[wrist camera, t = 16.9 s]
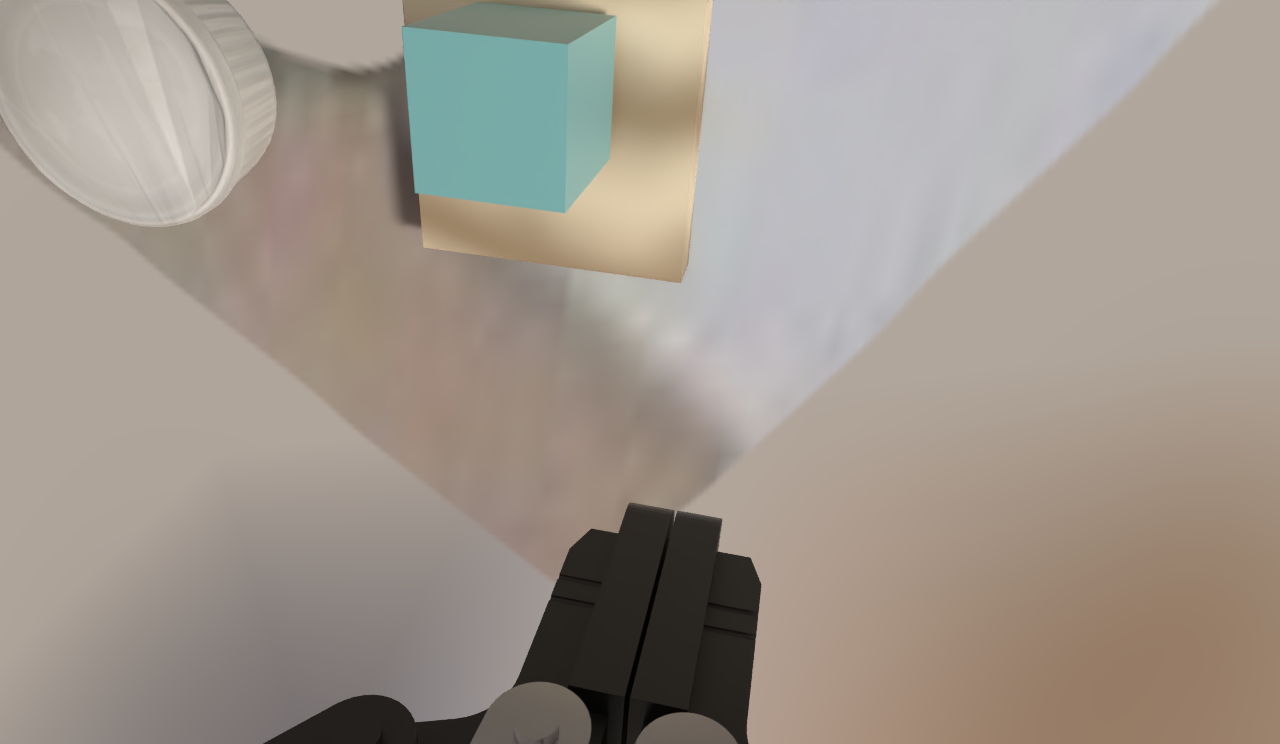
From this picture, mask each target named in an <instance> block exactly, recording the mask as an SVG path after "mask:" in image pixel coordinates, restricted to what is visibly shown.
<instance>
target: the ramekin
mask: <svg viewBox="0 0 1280 744" xmlns="http://www.w3.org/2000/svg"><path fill="white" fill-rule="evenodd" d="M276 106H277V102H276V96H275V86H274V83H273V77H272V73H271V71H270V68H269V65H268V61H267V58H266V56H265V54H264V52H263V50H262V47H261V45H260V44H259V42H258V41H257V39H256V38H255V36H254V34H253V32H252V30H251V29H250V28H249V26H248V25H247V24H246V22H245V20H244V19H243V18H242V16H241V15H239V13H238V12H237V11H236V10H235V9H234V8H233V6H232V5H231V4H230V3H229V2H227V1H226V0H0V115H1V117H2V119H3V121H4V122H5V124H6V126H7V127H8V129H9V131H10V132H11V134H12V135H13V137H14V138H15V140H16V141H17V143H18V144H19V146H20V148H21V149H22V150H23V152H24V153H25V154H26V155H27V157H28V158H29V159H30V160H31V161H32V162H33V163H34V164H35V166H36V167H37V168H38V170H39V171H40V172H41V173H42V174H43V175H44V176H46V177H47V178H48V179H49V180H50V181H51V182H53V183H54V184H55V185H56V186H57V187H59V188H60V189H62V190H63V191H64V192H66V193H67V194H68V195H70V196H71V197H73V198H74V199H76V200H77V201H79V202H80V203H82V204H83V205H85V206H87V207H89V208H90V209H92V210H94V211H96V212H98V213H100V214H103V215H105V216H107V217H110V218H113V219H116V220H119V221H122V222H125V223H128V224H133V225H138V226H147V227H166V226H173V225H178V224H183V223H187V222H190V221H193V220H195V219H197V218H199V217H201V216H202V215H204V214H206V213H207V212H209V211H211V210H212V209H214V208H215V207H216V206H217V205H219V204H220V203H221V202H222V201H223V200H224V199H225V198H226V197H227V196H228V194H229V193H230V191H231V190H232V188H233V187H234V185H235V184H236V183H237V182H238V181H239V180H240V179H241V178H243V177H244V176H245V175H246V174H247V173H248V172H249V171H250V170H251V169H252V168H253V167H254V166H255V165H256V164H257V163H258V162H259V160H260V158H261V157H262V156H263V154H264V153H265V151H266V148H267V146H268V145H269V143H270V141H271V137H272V134H273V132H274V129H275V120H276Z"/></svg>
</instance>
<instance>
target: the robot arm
mask: <svg viewBox="0 0 1280 744" xmlns="http://www.w3.org/2000/svg"><path fill="white" fill-rule="evenodd" d="M721 526H722V519H721V518H716V517H710V516H704V515H699V514H693V513H688V512H682V511H677V514H676V517H675V521H674V510H670V509H664V508H658V507H653V506H647V505H642V504H636V503H629V504H628V507H627V509H626V512H625V515H624V518H623V521H622V524H621V527H620V530H619V533H612V532H607V531H602V530H596V529H591V530H589V531H588V532H587V533H586V534H585V535H584V536H583V537H582V538H581V539H580V540H579V541H577V542H576V543H575V544H574V545H573V546H572V547H571V548H570V549H569V552H568V554H567V557H566V559H565V562H564V564H563V567H562V569H561V572H560V576H559V579H557V582H556V584H555V587H554V590H553V592H552V595H551V599H550V600H549V602H548V605H547V607H546V609H545V612H544V614H543V617H542V620H541V622H540V625H539V627H538V630H537V632H536V635H535V637H534V639H533V642H532V645H531V647H530V650H529V652H528V655H527V657H526V660H525V662H524V665H523V667H522V670H521V672H520V675H519V677H518V679H517V681H516V683H515V685H514V686H513V687H512V688H511V689H510V690H508V691H506V692H504V693H503V694H502V695H501V696H500V697H498V698H497V699H496V700H495V701H494V702H493V704H492V705H491V706H490V707H489V708H488V709H487V710H485V711H482V712H480V713H478V714H475V715H472V716H468V717H464V718H457V719H448V720H437V721H426V722H415V721H414V718H413V717H412V715H411V713H410V712H409V711H408V709H407V708H406V707H405V706H404V705H402V704H401V703H400V702H398V701H396V700H394V699H392V698H389V697H384V696H380V695H363V696H357V697H353V698H350V699H347V700H344V701H342V702H339V703H337V704H335V705H333V706H332V707H330V708H328V709H326V710H324V711H322V712H321V713H319V714H317V715H315V716H313V717H311V718H309V719H308V720H306V721H304V722H302V723H300V724H298V725H297V726H295V727H293V728H291V729H289V730H287V731H286V732H284V733H282V734H280V735H278V736H276V737H275V738H273V739H271V740H269V741H267V742H265V743H264V744H748V739H747V717H748V707H749V698H750V689H751V679H752V669H753V660H754V650H755V639H756V630H757V621H758V612H759V603H760V592H761V582H760V581H759V577H758V575H757V572H756V570H755V568H754V565H753V563H752V560H751V558H749V557H744V556H738V555H733V554H728V553H722V552H718V547H719V539H720V532H721Z"/></svg>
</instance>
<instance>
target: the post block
mask: <svg viewBox="0 0 1280 744" xmlns="http://www.w3.org/2000/svg"><path fill="white" fill-rule="evenodd" d="M476 2H487V3H497V4H507V5H517V6H526V7H536V8H546V9H556V10H566V11H576V12H586V13H596V14H606V15H616V16H617V17H616V38H615V60H614V81H613V103H612V124H611V146H610V159H609V161H608V162H607V163H606V164H605V165H604V167H603V168H602V169H601V170H600V171H599V173H598V174H597V175H596V176H595V178H594V179H593V180H592V181H591V182H590V184H589V185H588V186H587V187H586V188H585V190H584V191H583V192H582V193H581V195H580V196H579V197H578V198H577V199H576V201H575V202H574V203H573V204H572V206H571V207H570V208H569V209H568V210H567V212H566V213H559V212H551V211H544V210H537V209H529V208H522V207H515V206H507V205H500V204H493V203H485V202H478V201H471V200H463V199H456V198H448V197H441V196H434V195H426V194H419V203H420V215H421V227H422V239H423V247H425V248H432V249H440V250H447V251H454V252H461V253H468V254H476V255H483V256H490V257H497V258H504V259H512V260H519V261H526V262H533V263H540V264H548V265H555V266H562V267H569V268H577V269H584V270H591V271H598V272H605V273H613V274H620V275H627V276H634V277H641V278H649V279H656V280H663V281H670V282H678V283H681V281H682V279H683V276H684V274H685V271H686V268H687V266H688V257H689V246H690V236H691V225H692V215H693V205H694V194H695V184H696V173H697V163H698V152H699V142H700V131H701V121H702V110H703V100H704V89H705V79H706V68H707V58H708V47H709V37H710V26H711V16H712V5H713V0H403V11H404V23H405V25H408V24H411V23H414V22H418V21H421V20H424V19H427V18H430V17H433V16H436V15H439V14H442V13H445V12H448V11H451V10H454V9H457V8H461V7H464V6H467V5H470V4H473V3H476Z"/></svg>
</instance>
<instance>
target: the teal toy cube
mask: <svg viewBox="0 0 1280 744" xmlns="http://www.w3.org/2000/svg"><path fill="white" fill-rule="evenodd" d="M616 17H617V16H616V15H606V14H596V13H586V12H576V11H566V10H556V9H546V8H536V7H526V6H517V5H507V4H497V3H487V2H476V3H473V4H470V5H467V6H464V7H461V8H457V9H454V10H451V11H448V12H445V13H442V14H439V15H436V16H433V17H430V18H427V19H424V20H421V21H418V22H414V23H411V24H408V25H405V26H402V36H403V48H404V61H405V74H406V86H407V99H408V111H409V124H410V137H411V149H412V162H413V174H414V187H415V193H419V194H426V195H434V196H441V197H448V198H456V199H463V200H471V201H478V202H485V203H493V204H500V205H507V206H515V207H522V208H529V209H537V210H544V211H551V212H559V213H566V212H567V210H568V209H569V208H570V207H571V206H572V204H573V203H574V202H575V201H576V199H577V198H578V197H579V196H580V195H581V193H582V192H583V191H584V190H585V188H586V187H587V186H588V185H589V184H590V182H591V181H592V180H593V179H594V178H595V176H596V175H597V174H598V173H599V171H600V170H601V169H602V168H603V167H604V165H605V164H606V163H607V162H608V161H609V159H610V146H611V124H612V103H613V81H614V60H615V38H616Z"/></svg>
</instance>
